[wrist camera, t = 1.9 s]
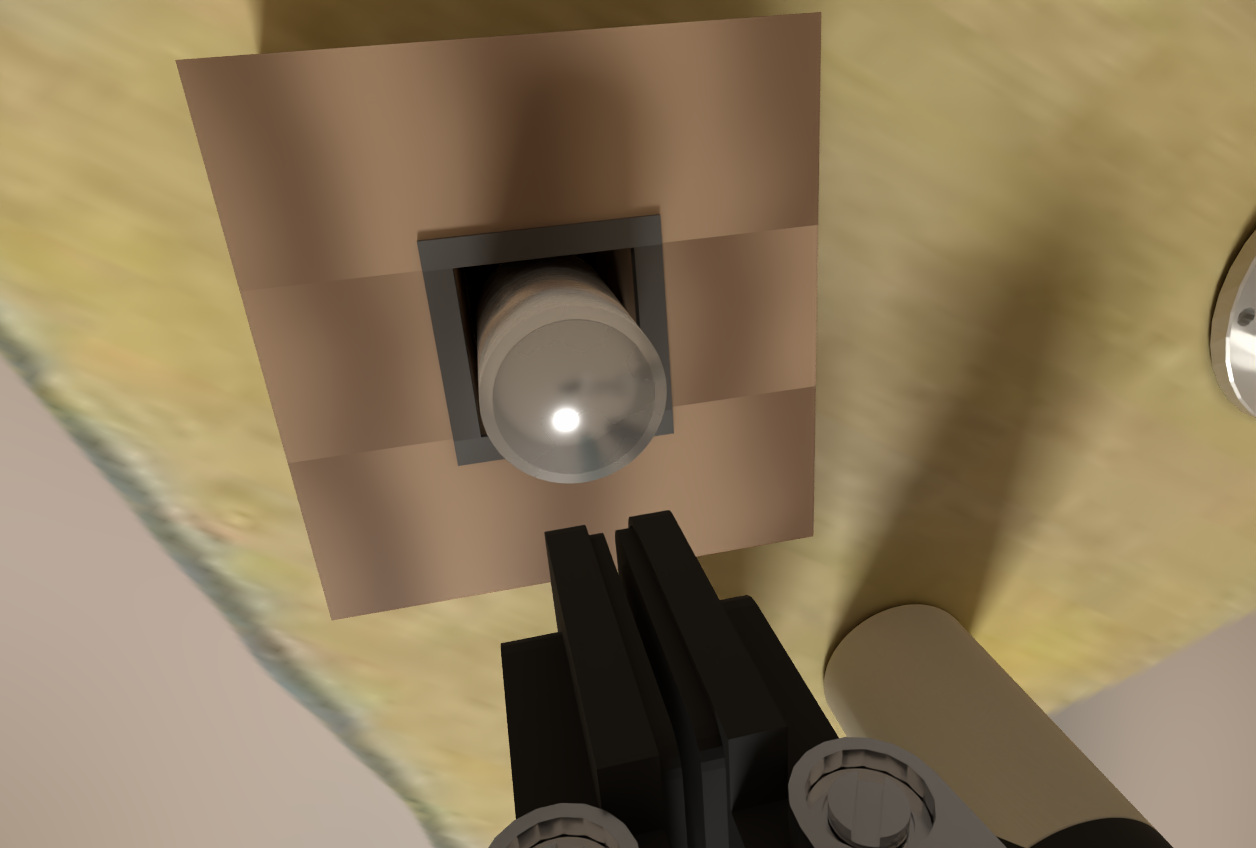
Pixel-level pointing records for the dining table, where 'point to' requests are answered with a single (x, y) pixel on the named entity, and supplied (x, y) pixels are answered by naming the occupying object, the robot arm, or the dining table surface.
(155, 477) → the dining table surface
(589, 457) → the steel dowel
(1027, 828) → the travel mug
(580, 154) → the block
